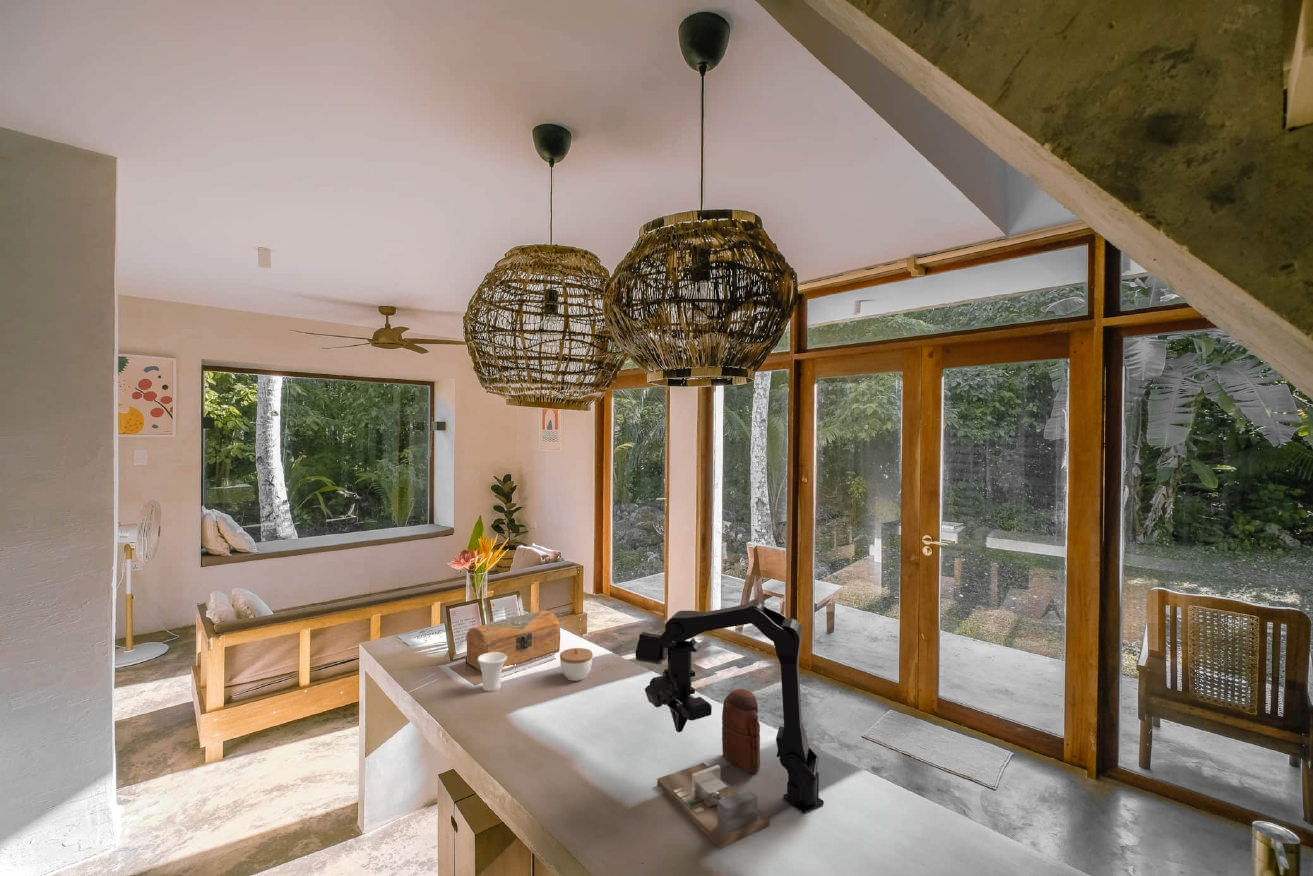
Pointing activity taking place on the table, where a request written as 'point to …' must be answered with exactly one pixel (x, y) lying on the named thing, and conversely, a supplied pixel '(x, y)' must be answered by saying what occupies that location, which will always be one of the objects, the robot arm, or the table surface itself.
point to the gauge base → (716, 808)
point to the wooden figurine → (741, 730)
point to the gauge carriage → (708, 786)
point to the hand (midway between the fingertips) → (678, 731)
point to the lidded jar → (576, 663)
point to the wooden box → (515, 638)
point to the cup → (492, 669)
